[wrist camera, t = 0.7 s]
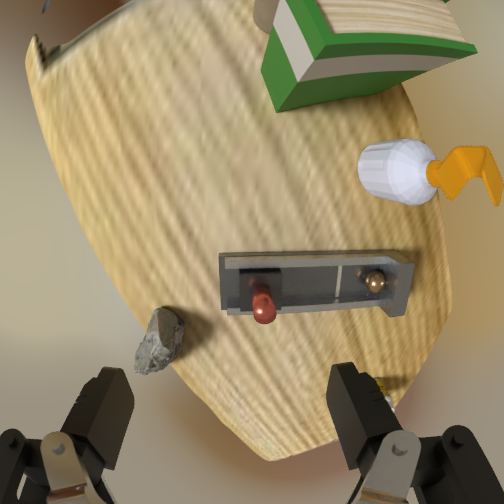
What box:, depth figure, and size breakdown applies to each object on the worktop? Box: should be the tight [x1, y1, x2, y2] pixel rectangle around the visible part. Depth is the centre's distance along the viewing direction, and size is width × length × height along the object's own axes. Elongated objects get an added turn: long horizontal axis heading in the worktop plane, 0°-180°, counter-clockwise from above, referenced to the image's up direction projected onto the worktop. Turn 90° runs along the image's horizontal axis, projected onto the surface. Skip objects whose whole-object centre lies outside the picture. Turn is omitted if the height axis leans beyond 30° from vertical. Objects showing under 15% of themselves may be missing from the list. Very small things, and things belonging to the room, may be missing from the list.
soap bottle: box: [358, 139, 504, 206], centre depth 28 cm, size 9×9×25 cm
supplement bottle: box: [375, 378, 394, 413], centre depth 49 cm, size 5×5×10 cm
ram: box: [239, 268, 283, 324], centre depth 38 cm, size 6×6×10 cm
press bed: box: [219, 250, 415, 317], centre depth 41 cm, size 9×30×8 cm, turn 90°
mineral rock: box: [134, 308, 185, 375], centre depth 41 cm, size 13×11×10 cm
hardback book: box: [261, 0, 478, 113], centre depth 24 cm, size 18×7×24 cm, turn 108°
